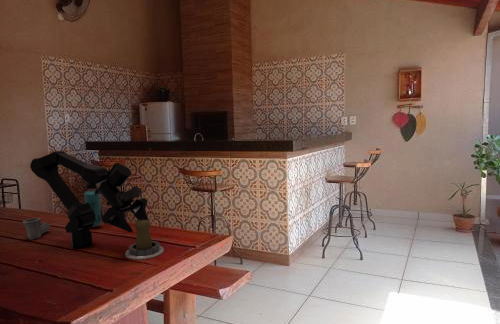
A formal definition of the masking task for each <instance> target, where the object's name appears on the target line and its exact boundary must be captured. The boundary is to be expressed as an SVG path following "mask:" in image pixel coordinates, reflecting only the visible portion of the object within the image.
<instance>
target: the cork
mask: <svg viewBox="0 0 500 324" xmlns="http://www.w3.org/2000/svg"><path fill="white" fill-rule="evenodd" d="M148 220H149V219H148ZM148 220H139V219H138V220H136V222H135V223H134V228H135V230H136V241H135V243H136V249H148V248H152V247H153V246H152V241H153V240H152V237H151V233H150V232H151V231H150V228H151V222H150V220H149V221H148Z"/></svg>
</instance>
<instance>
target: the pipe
mask: <svg viewBox="0 0 500 324" xmlns="http://www.w3.org/2000/svg"><path fill="white" fill-rule="evenodd" d="M22 223H23V225H24V228H25V231H26V235H27V239H28V240H30V241H33V240H36V239H40V238H41V236H42V235H44V234H45V233H47V232H48V231H49V230H50V229H51V225H50V223H49V222H44V223H42V224H41V217H34V218H28V219H25V220H23V221H22Z"/></svg>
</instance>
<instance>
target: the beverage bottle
mask: <svg viewBox="0 0 500 324" xmlns="http://www.w3.org/2000/svg"><path fill="white" fill-rule="evenodd" d="M95 187H98V186H97V184H95V185H90V184H88V183H86V189H87V190H86V192H84V194H83V195H84V203H88V204H89V205H90V206H91V208H92V209H93V210H94V211H93V212H94V213H95V215H96V216H95V221H94V224H93V227H97V226H100V225H102V222H103V221H102V216H103V215H102V208H101V199H100V198H101V196H100V195H101V194H98V195H95V190H96V189H95ZM91 189H92V190H91Z"/></svg>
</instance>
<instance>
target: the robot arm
mask: <svg viewBox="0 0 500 324" xmlns="http://www.w3.org/2000/svg"><path fill="white" fill-rule="evenodd" d="M59 166H62V167H64V168H66V169H68V170H69V171H72V172H73V173H76V174H77V175H79V176H80V177H81V179H82V180H83V181H84V182H85V183H86V184H90V185H95V184H96V185H99V186H97V187H95V188H94V190H95V195H98V194H100V195H102V196H103V198H104V199H105V200H106V201H107V203H106V206H108V208H107V210H106V211H105V212H104V213H103V214H102V215H101V216H102V217H101V218H102V220H101V222H103V224H104V225H108V226H113V227H116V228H119V229H121V230H123V231H126V232H127V233H133V231H134V230H133V229H132V226H130V224H129V223H128V221H127V220H126V219H125V216H124V214H126V213H128V212H129V213H132V214H133V217H135V218H137V220H138V221H139V220H148V221H149V222H150V220H149V218H148V215H147V211H146V207H147V206H148V202H149V201H148V200H147V198H146V197H141V194H142V189H141V187H139V186H138V185H136V186H133V187H131V189H129V190H126V191H125V190H123V191H121V189H120V188H119V187H122V186H124V184H125V183H126V182H127V180H128V179H129V178H130V177H131V175H132V171H131V169H130V168H129V167H127V166H126V165H123V164H121V163H120V162H114V163H113V165H112V167H111V168H110V170H108V169H106V168H105V167H104V166H99V165H96V164H95V165H94V164H88V162H87V163H86V162H84V161H82V160H81V159H79V158H76V157H74V156H73V155H70V154H68V153H67V152H66V151H64V150H56V151H52V152H50V153H49V154H46V155H44V156H41V157H38V158H37V157H36V158H35V157H34V158H33V159H32V160H31V162H30V166H29V168H30V171H32V173H34V175H35V176H36V177H38V178H39V179H41V180H44V181H45V182H46V183H47V184H48V185H49V187H50V188H51V189H52V191H53V192H54V194H55V195H56V196H57V198H58V199H59V200H60V201H61V203H62V204H63V206H64V207H65V209H67V219H68V220H69V221H68V222H67V224H66V225H65V226H64V228H65V232H66V233H68V234H69V233H70V240H71V243H70V246H71V248H72V249H73V250H76V249H77V250H78V249H82V248H87V247H92V246H93V233H92V231H91V229H90V228H93V227H94V226H93V224H94V221H95V216H96V215H95V213H94V212H93V211H94V210H93V209H92V208H91V206H90V205H89V204H88V203H85V202H84V203H82V202H80V200H79V199H78V197H77V196H76V195H75V194H74V193H73V191H72V189H71V188H70V187H69V186H68V185H67V183H66V182H65V180H64V179H63V177H62V176H61V175H60V173H59ZM139 197H140V198H139ZM136 198H137V199H136ZM134 199H135V200H134ZM109 206H111V207H109Z"/></svg>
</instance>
